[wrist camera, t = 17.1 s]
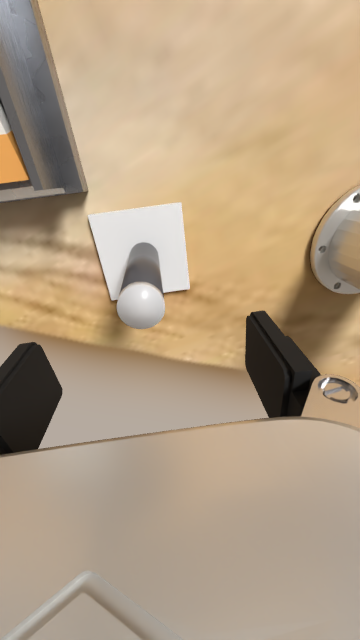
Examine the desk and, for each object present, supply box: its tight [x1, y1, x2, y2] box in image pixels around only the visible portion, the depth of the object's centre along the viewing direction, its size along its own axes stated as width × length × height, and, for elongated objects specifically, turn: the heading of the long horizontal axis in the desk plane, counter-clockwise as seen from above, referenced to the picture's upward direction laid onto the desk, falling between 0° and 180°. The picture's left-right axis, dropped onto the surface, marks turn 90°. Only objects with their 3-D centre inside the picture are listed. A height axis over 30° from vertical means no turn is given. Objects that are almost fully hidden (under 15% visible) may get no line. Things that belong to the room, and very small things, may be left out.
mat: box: [88, 202, 190, 300], centre depth 26 cm, size 9×9×1 cm
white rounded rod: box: [117, 242, 165, 329], centre depth 21 cm, size 3×3×12 cm
